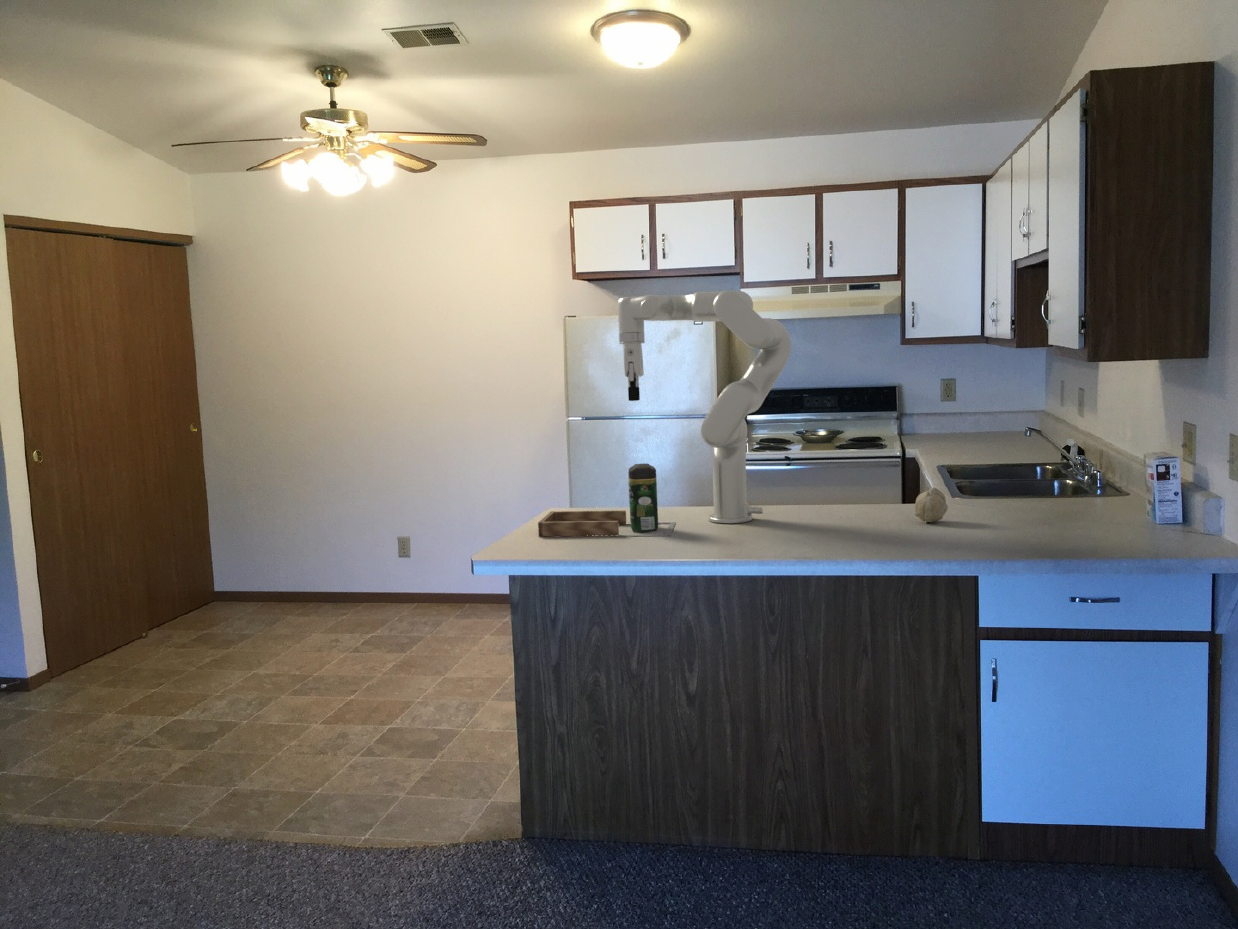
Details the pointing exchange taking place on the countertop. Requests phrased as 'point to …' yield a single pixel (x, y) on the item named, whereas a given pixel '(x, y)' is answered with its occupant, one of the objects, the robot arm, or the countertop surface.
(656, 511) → the coffee jar
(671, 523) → the grey bay
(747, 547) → the countertop surface
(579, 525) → the wooden u-shaped frame
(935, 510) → the garlic bulb
